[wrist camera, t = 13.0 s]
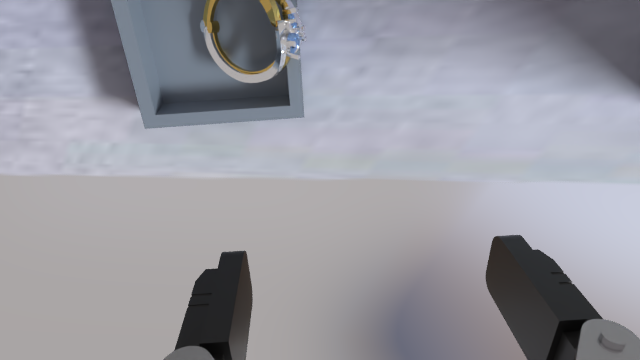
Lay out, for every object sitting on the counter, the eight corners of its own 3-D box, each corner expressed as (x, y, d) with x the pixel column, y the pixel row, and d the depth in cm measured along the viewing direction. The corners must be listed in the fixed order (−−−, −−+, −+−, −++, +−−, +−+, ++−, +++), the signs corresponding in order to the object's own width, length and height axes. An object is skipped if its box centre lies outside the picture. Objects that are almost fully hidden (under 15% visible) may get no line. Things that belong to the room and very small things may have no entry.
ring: (185, -30, 28) (291, -22, 25) (216, -27, 30) (315, -19, 27) (191, 77, 30) (287, 95, 27) (219, 71, 33) (309, 87, 30)
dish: (289, -80, 29) (291, -83, 26) (302, 102, 35) (304, 117, 32) (111, -72, 28) (91, -74, 25) (156, 112, 34) (144, 128, 31)
